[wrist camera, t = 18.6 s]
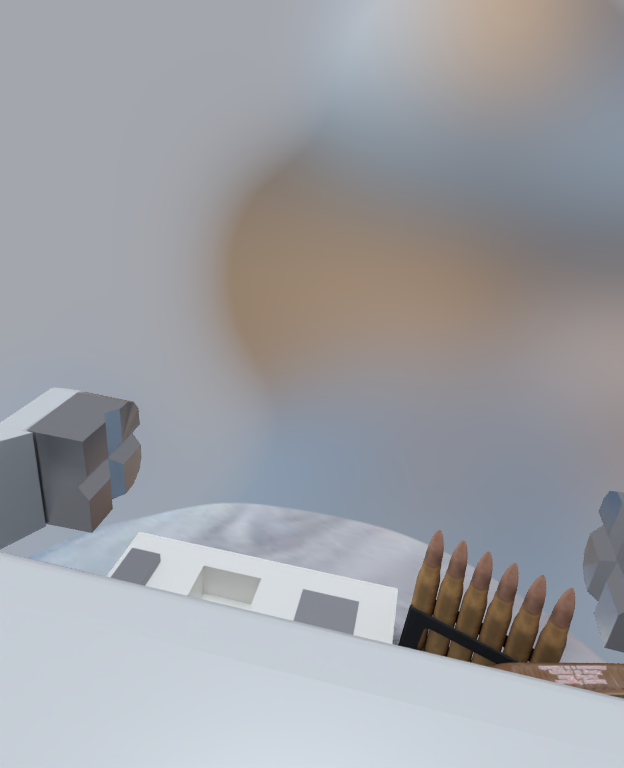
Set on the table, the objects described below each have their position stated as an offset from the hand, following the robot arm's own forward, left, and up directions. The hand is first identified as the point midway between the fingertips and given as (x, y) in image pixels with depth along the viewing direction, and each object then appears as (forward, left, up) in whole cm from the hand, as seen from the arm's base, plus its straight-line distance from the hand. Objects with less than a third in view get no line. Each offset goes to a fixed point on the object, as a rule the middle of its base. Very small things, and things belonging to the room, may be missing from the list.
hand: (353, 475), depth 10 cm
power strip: (+8, -22, -32) cm, 40 cm away
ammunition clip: (-9, -23, -32) cm, 41 cm away
